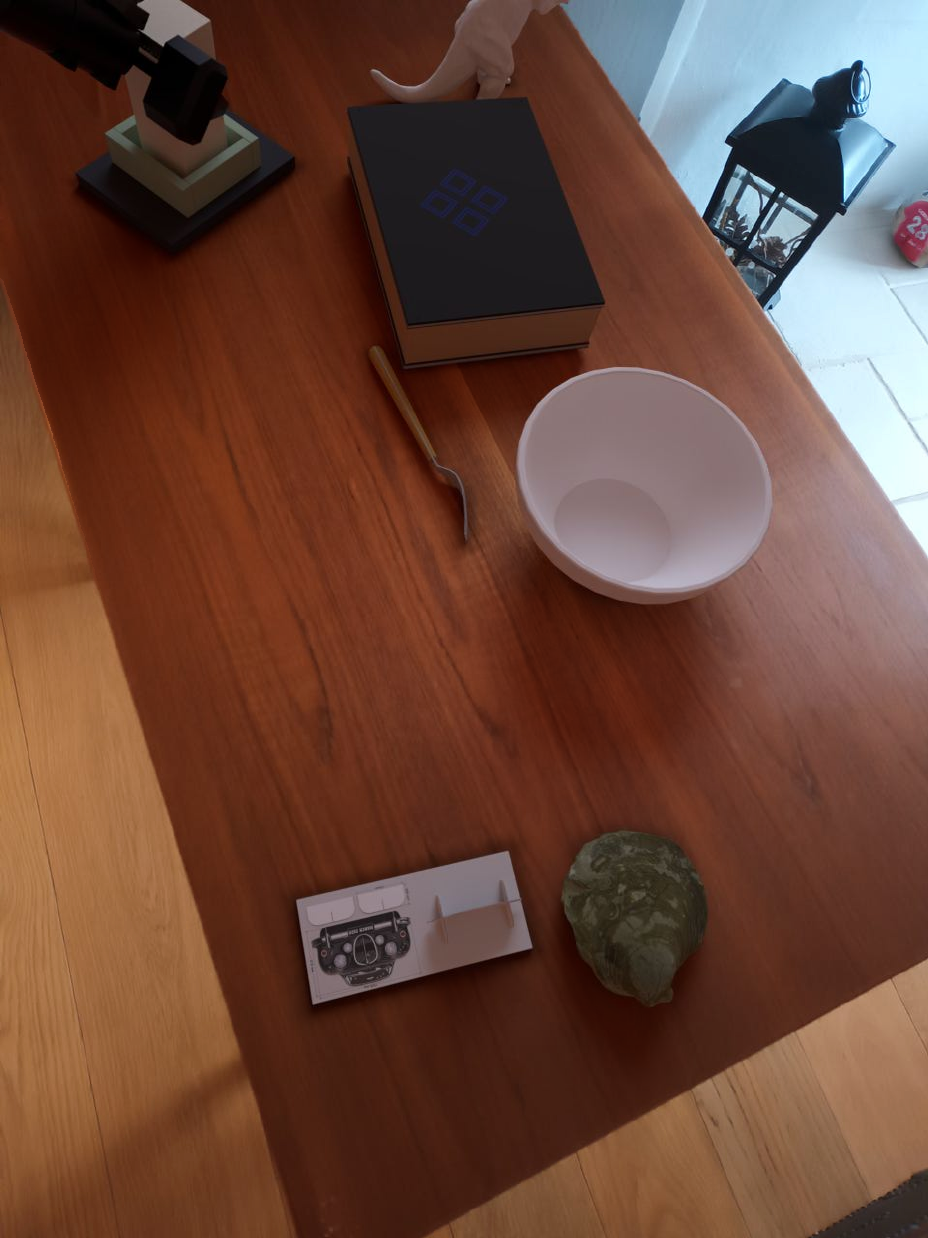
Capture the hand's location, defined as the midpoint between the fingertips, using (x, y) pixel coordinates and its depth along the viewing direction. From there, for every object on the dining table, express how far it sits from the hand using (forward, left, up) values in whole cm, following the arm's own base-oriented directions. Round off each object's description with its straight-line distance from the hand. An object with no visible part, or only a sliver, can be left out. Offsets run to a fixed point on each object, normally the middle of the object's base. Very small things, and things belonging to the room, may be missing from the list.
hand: (185, 79), depth 75 cm
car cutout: (+14, -70, -9) cm, 72 cm away
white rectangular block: (-1, -1, -8) cm, 8 cm away
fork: (+18, -32, -9) cm, 37 cm away
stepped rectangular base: (-1, -1, -9) cm, 9 cm away
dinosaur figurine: (+27, +11, -9) cm, 30 cm away
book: (+24, -11, -9) cm, 28 cm away
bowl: (+33, -41, -9) cm, 53 cm away
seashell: (+29, -71, -9) cm, 77 cm away
